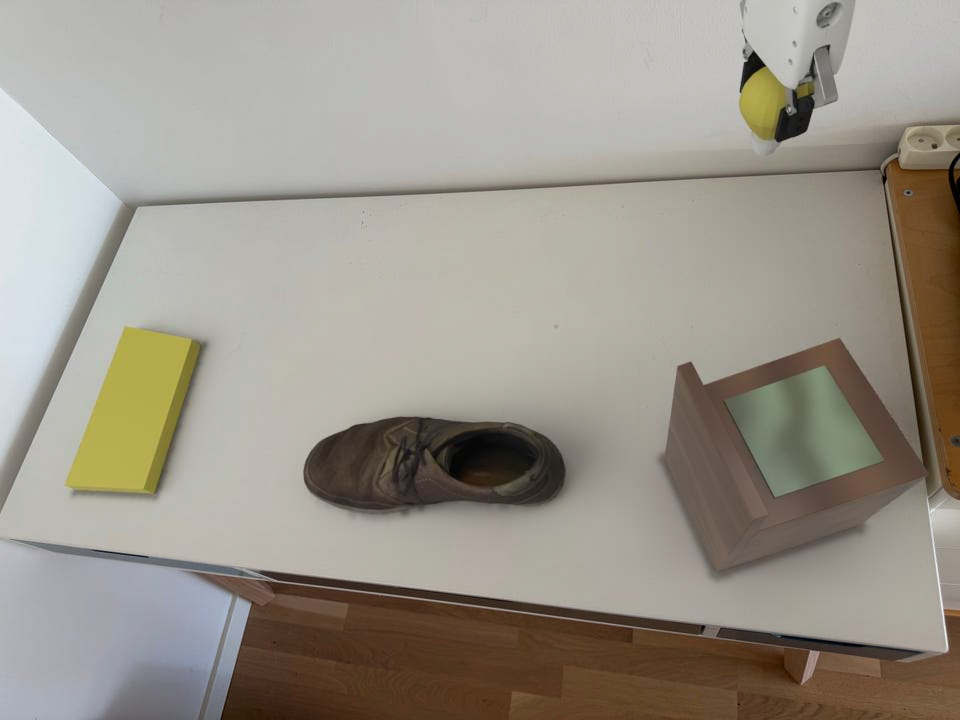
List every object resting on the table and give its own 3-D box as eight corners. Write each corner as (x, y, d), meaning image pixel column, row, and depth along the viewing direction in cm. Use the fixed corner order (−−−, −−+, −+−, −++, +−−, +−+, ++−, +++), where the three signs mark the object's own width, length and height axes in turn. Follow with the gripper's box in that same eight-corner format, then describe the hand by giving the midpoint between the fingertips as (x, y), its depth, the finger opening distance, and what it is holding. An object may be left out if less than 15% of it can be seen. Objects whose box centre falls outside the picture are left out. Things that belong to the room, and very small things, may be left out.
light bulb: (806, 132, 71) (828, 54, 63) (784, 177, 69) (804, 103, 61) (744, 119, 74) (758, 42, 65) (722, 162, 72) (732, 89, 63)
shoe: (331, 415, 84) (297, 384, 76) (571, 437, 76) (563, 404, 68) (306, 506, 79) (266, 484, 71) (559, 539, 72) (549, 519, 63)
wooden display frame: (794, 413, 72) (861, 301, 51) (859, 525, 66) (964, 449, 45) (664, 458, 73) (677, 365, 52) (715, 572, 67) (753, 520, 46)
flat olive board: (154, 493, 85) (205, 331, 95) (143, 489, 83) (196, 324, 93) (76, 489, 88) (134, 333, 98) (64, 485, 86) (124, 325, 96)
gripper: (921, -23, 47) (853, 155, 63) (799, -130, 56) (766, 49, 71) (821, 16, 48) (778, 183, 63) (715, -97, 56) (700, 74, 72)
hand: (772, 111), depth 67 cm, fingers closed on light bulb, 6 cm apart
